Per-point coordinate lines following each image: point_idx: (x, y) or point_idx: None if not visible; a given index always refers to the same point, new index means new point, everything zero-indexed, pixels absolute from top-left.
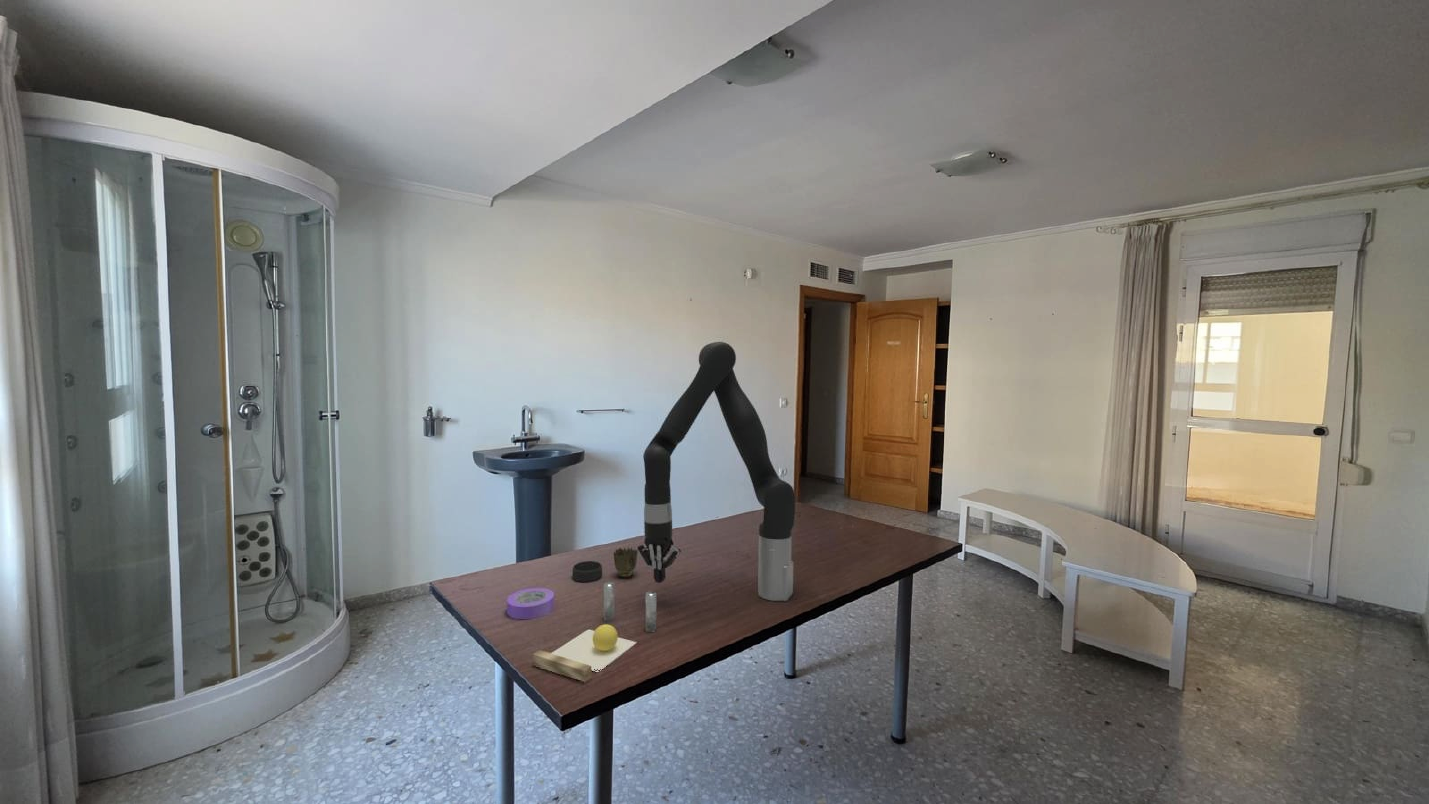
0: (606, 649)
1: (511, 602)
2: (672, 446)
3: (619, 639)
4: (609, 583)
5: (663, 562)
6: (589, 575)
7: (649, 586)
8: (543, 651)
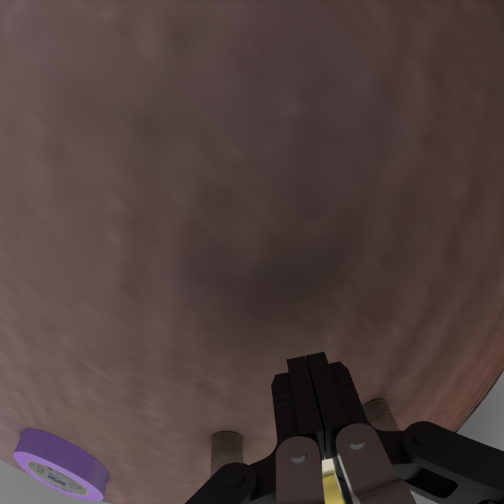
0: None
1: (69, 494)
2: None
3: (332, 460)
4: None
5: (364, 467)
6: None
7: (78, 170)
8: None
